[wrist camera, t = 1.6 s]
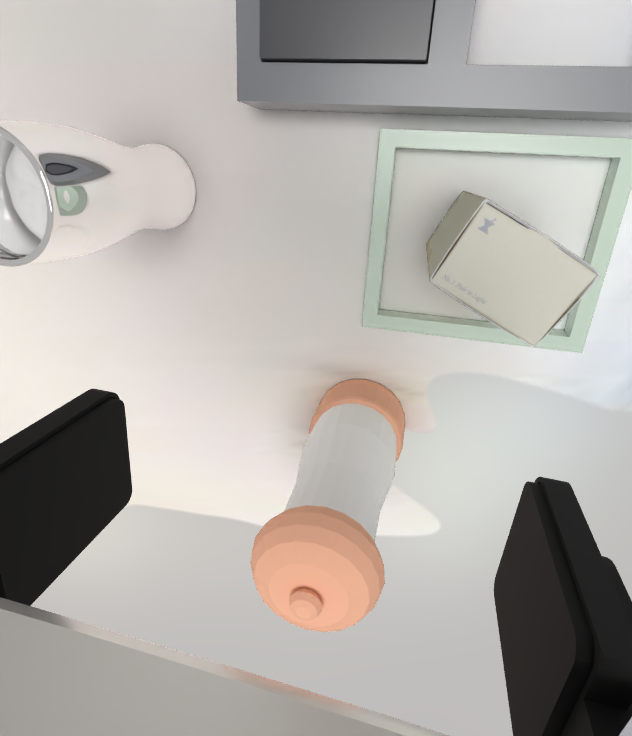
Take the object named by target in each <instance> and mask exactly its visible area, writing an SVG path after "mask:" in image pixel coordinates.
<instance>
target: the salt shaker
mask: <svg viewBox="0 0 632 736" xmlns="http://www.w3.org/2000/svg"><path fill="white" fill-rule="evenodd" d="M404 429H405V414H404V411H403V409H402V406H401V404H400V401H399V400H398V399H397V398H396V397H395V395H394V394H393V393H392V392H391V391H390V390H388V389H387V388H385V387H384V386H382V385H381V384H379V383H376V382H372V381H369V380H366V379H351V380H347V381H344V382H341V383H338V384H337V385H335V386H334V387H332V388H331V389H330V390H328V392H327V393H326V394H325V396H324V397H323V399H322V400H321V402H320V404H319V406H318V408H317V410H316V412H315V414H314V416H313V418H312V422H311V426H310V430H309V433H310V435H309V437H308V439H307V441H306V442H305V444H304V447H303V451H302V455H301V460H300V465H299V471H298V476H297V481H296V485H295V487H294V489H293V492H292V494H291V496H290V499H289V501H288V503H287V506H286V508H285V510H284V512H282V513H281V514H279V515H277V516H276V517H274V518H272V519H271V520H270V521H268V522H267V523H266V524H265V525H264V526H263V528H262V529H261V530H260V532H259V533H258V534H257V536H256V537H255V541H254V546H253V550H252V557H251V568H252V573H253V579H254V582H255V585H256V588H257V590H258V592H259V594H260V595H261V597H262V599H263V601H264V602H265V603H266V604H267V605H268V606H269V608H270V609H272V611H273V612H274V613H275V614H277V615H278V616H280V617H282V618H283V619H284V620H286V621H288V622H289V623H291V624H294V625H296V626H299V627H302V628H304V629H307V630H314V631H321V632H328V631H339V630H343V629H345V628H348V627H350V626H352V625H355V624H356V623H357V622H359V621H360V620H361V619H363V617H365V616H366V615H367V614H368V613H369V612H370V611H371V610H372V609H373V608H374V607H375V604H376V602H377V600H378V598H379V596H380V594H381V591H382V588H383V586H384V584H385V580H384V565H383V562H382V558H381V556H380V554H379V551H378V549H377V547H376V544H375V537H376V531H377V526H378V520H379V514H380V510H381V507H382V505H383V503H384V500H385V498H386V495H387V493H388V491H389V488H390V486H391V483H392V480H393V478H394V475H395V463H396V461H397V460H398V458H399V455H400V452H401V450H402V446H403V438H404Z"/></svg>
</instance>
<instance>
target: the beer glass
mask: <svg viewBox="0 0 632 736" xmlns="http://www.w3.org/2000/svg"><path fill="white" fill-rule="evenodd" d="M195 198H196V188H195V182H194V178H193V175H192V172H191V170H190V168H189V166H188V165H187V163H186V162H185V160H184V159H183V158H182V157H181V156H180V155H179V154H178V153H177V152H175V151H174V150H172V149H171V148H169V147H167V146H164V145H161V144H144V145H140V146H136V147H132V148H129V147H125V146H122V145H120V144H117V143H115V142H112V141H110V140H107V139H105V138H102V137H100V136H97V135H95V134H92V133H89V132H86V131H83V130H79V129H76V128H73V127H69V126H63V125H58V124H52V123H44V122H33V121H11V120H0V265H2V266H11V267H14V266H22V265H25V264H33V263H42V262H51V261H59V260H65V259H70V258H75V257H80V256H84V255H87V254H91V253H94V252H98V251H100V250H102V249H105V248H107V247H109V246H111V245H114V244H116V243H118V242H119V241H121V240H123V239H125V238H127V237H128V236H130V235H132V234H134V233H135V232H137V231H139V230H141V229H144V228H149V229H156V230H168V229H173V228H176V227H178V226H179V225H181V224H182V223H183V222H185V221H186V220H187V218H188V217H189V216H190V214H191V212H192V210H193V207H194V204H195Z"/></svg>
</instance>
